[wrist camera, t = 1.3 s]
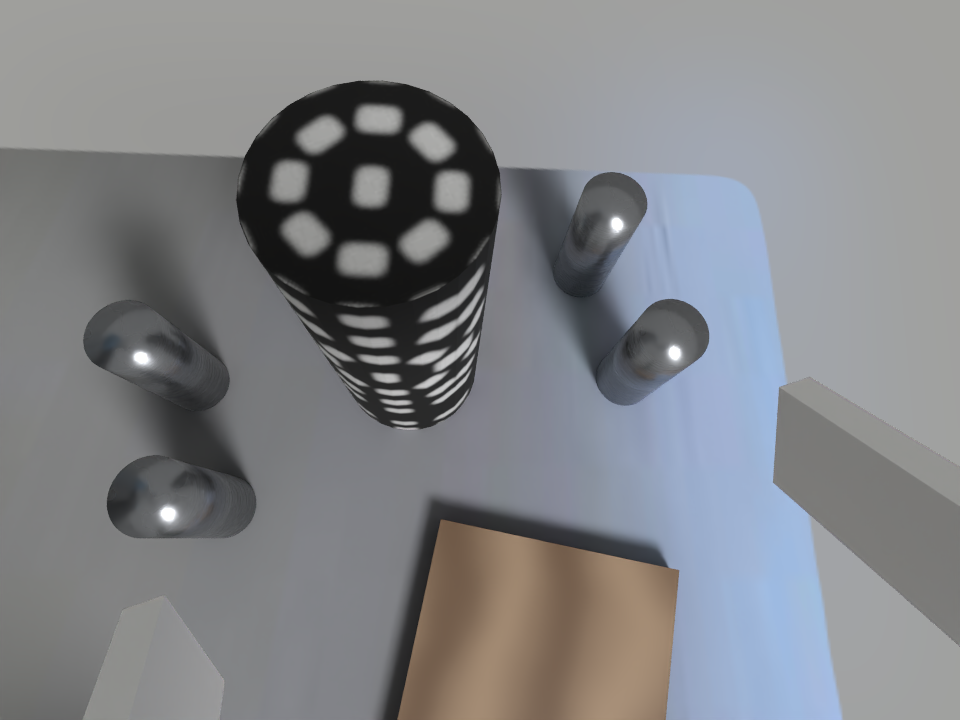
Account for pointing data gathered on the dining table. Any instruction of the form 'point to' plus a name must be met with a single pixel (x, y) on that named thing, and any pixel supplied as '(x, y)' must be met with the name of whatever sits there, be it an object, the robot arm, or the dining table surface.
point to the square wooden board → (539, 632)
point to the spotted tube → (379, 239)
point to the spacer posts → (205, 380)
